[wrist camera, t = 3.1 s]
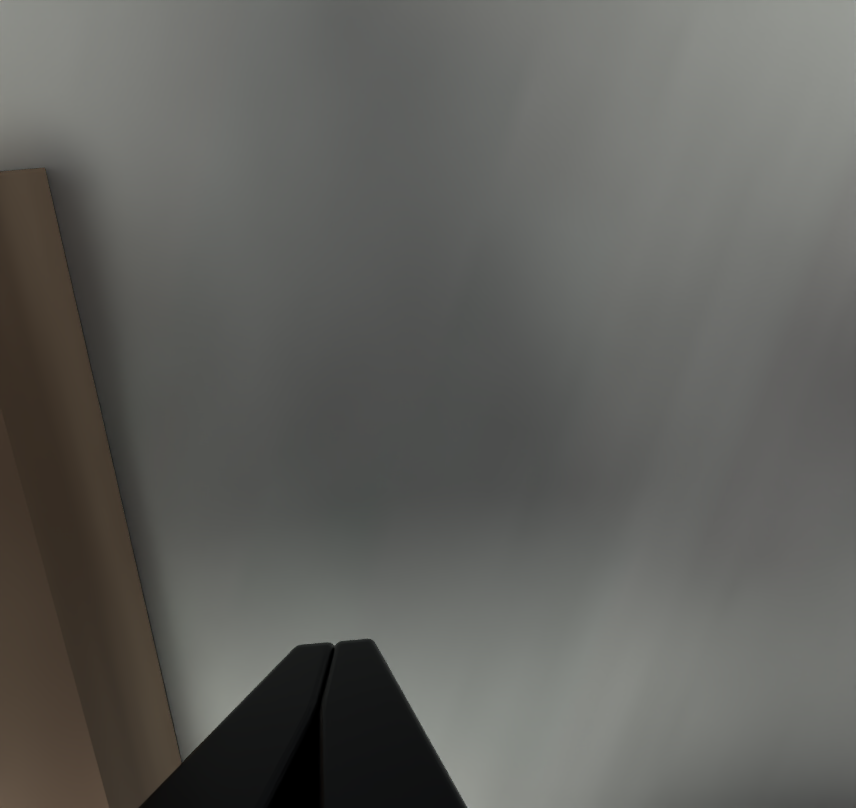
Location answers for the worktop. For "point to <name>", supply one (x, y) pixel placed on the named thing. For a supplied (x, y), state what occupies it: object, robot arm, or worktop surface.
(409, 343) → the worktop surface
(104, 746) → the walnut ledge
